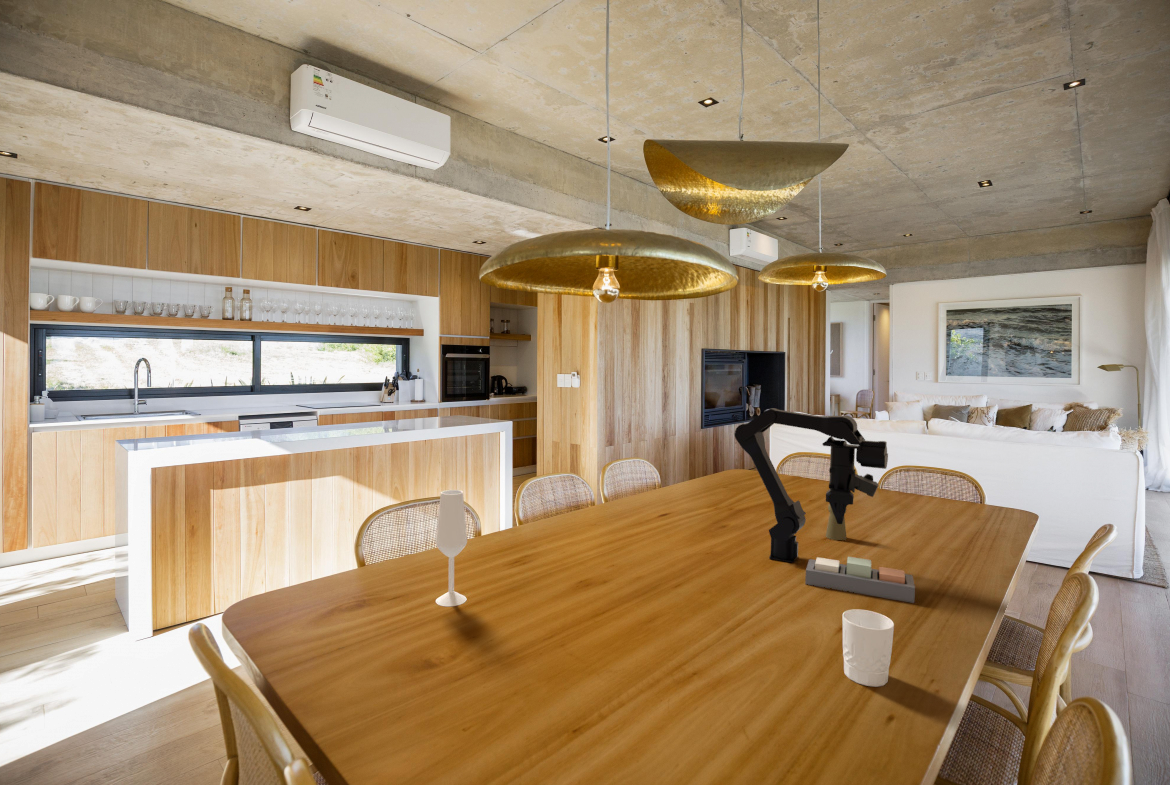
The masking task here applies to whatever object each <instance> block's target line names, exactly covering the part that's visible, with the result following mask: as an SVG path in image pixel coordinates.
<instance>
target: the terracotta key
mask: <svg viewBox="0 0 1170 785" xmlns="http://www.w3.org/2000/svg"><path fill="white" fill-rule="evenodd" d="M878 570H879V580H883V581H889V582H895V583H901V584H905V574H906V573H905V570H902V569H896V568H890V567H883V566H879V567H878Z"/></svg>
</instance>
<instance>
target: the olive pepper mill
mask: <svg viewBox="0 0 1170 785" xmlns="http://www.w3.org/2000/svg"><path fill="white" fill-rule="evenodd" d="M827 509H828V512H829V515H828V520H827V527H826V532H825V533H826V534H825V538H826V537H827V538H826V539H828V538H829V539H828V540H831V539H833V540H832V541H836V540H845V541H847V540H846V539H847V538H848V537H847V530H846V519H845V516H844V518H843V522H842V524H838V523H837V521H836V519H835V516H834V513H833V511H832V508H831V506H830V503H829V504H828V505H827ZM846 513H847V510H846V511H845V514H846Z"/></svg>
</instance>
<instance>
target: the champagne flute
mask: <svg viewBox="0 0 1170 785" xmlns="http://www.w3.org/2000/svg"><path fill="white" fill-rule="evenodd" d="M439 498H440V499H439V507H438V516H437V525H436V537H435V544H436V547H437V548H438V551H440V553H442V554H443V555H444V556H445V557H448V591H447V592H446V593H444V594H442V595H441V596H439V597H437V598H436V599H435V603H436V604H437V605H438V606H441V607H456V606H460V605H462V604H464V603H466V601H467V597H466V595H463V594H461V593H459V592H457V591H455V557H457V556H458V555H459V554H460V553H461V552H462V551H463V549H464V548H465V547H466V546H467V543H468V535H467V524H466V523H467V521H466V512H465V501H464V499H465V498H464V491H463V490H459V489H448V490H446V489H445V490H443V491H442V490H441V491H440V497H439Z"/></svg>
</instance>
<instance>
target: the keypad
mask: <svg viewBox="0 0 1170 785" xmlns="http://www.w3.org/2000/svg"><path fill="white" fill-rule="evenodd" d="M815 562H816V559H810V558H809V559H808V562H807V565H806V569H805V579H804V580H805V585H807V584H808V586H813V585H814V586H813V587H819V588H824V587H825V588H826V589H830V588H832V590H836V589H837V590H836V591H842V590H843V591H842V592H847V591H849V593H853V592H854V594H859V595H864V596H871V597H877V598H883V599H889V600H894V601H901V602H906V603H912V604H914V603H915V596H916V595H915V594H916V592H915V591H916V586H915V581H914V575H912V574H910V573H909V574H907V573H904V574H905V584H901V583H895V582H889V581H883V580H879V569H876V568H871V578H864V577H858V576H852V575H846V573H847V564H844V563H839V573H834V572H828V571H821V570H815Z"/></svg>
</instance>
